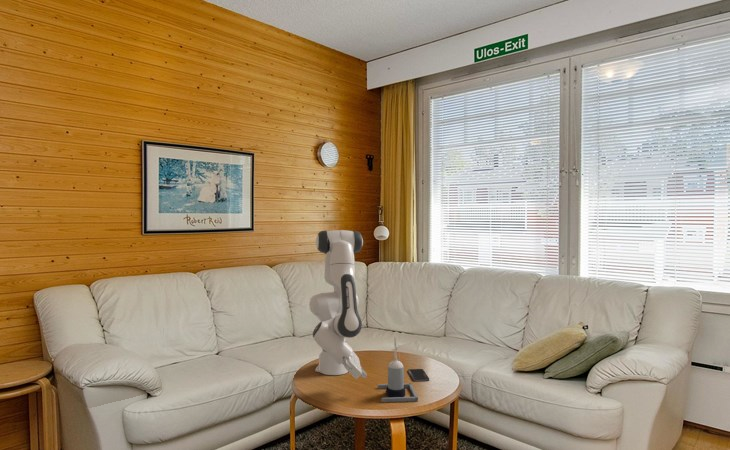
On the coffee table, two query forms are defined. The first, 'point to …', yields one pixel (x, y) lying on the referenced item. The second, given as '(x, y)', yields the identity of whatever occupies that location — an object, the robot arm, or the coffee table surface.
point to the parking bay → (399, 399)
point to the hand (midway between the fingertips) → (365, 376)
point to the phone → (418, 375)
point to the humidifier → (395, 377)
